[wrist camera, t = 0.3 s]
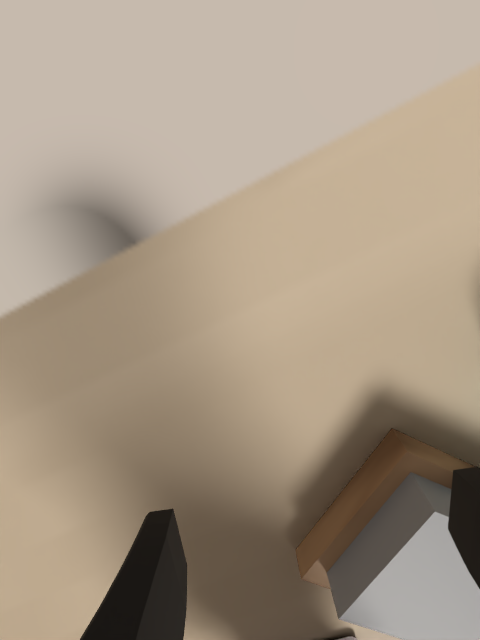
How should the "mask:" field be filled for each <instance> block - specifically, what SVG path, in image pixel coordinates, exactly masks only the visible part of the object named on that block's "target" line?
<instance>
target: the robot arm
mask: <svg viewBox="0 0 480 640" xmlns="http://www.w3.org/2000/svg"><path fill="white" fill-rule="evenodd" d="M448 530H449V532H450V535H451V537H452V539H453V541H454V543H455V545H456V547H457V549H458V551H459V553H460V555H461V557H462V559H463V561H464V563H465V565H466V567H467V569H468V571H469V573H470V574H471V576H472V578H473V579H474V581H475V583H476V584H477V586H478V587H479V589H480V468H478V467H472V468H464V469H457V470H453V478H452V488H451V499H450V510H449V520H448ZM186 602H187V563H186V559H185V555H184V551H183V547H182V543H181V539H180V535H179V530H178V526H177V522H176V518H175V514H174V510H173V509H168V510H161V511H154V512H149V513H148V514H147V516H146V517H145V519H144V522H143V524H142V526H141V528H140V530H139V532H138V535H137V537H136V539H135V541H134V543H133V545H132V547H131V549H130V551H129V553H128V555H127V557H126V559H125V561H124V563H123V565H122V567H121V569H120V570H119V572H118V574H117V576H116V578H115V580H114V581H113V583H112V585H111V587H110V589H109V591H108V593H107V594H106V596H105V598H104V600H103V602H102V603H101V605H100V607H99V609H98V610H97V612H96V614H95V615H94V617H93V619H92V620H91V622H90V624H89V625H88V627H87V629H86V630H85V632H84V634H83V635H82V637H81V639H80V640H183V637H184V628H185V618H186ZM336 640H357V639H356V638H355V637H353V636H349V637H345V638H341V639H336Z"/></svg>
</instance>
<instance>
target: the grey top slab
mask: <svg viewBox="0 0 480 640" xmlns="http://www.w3.org/2000/svg"><path fill="white" fill-rule="evenodd" d="M450 499H451V489H450V488H447V487H445V486H443V485H440V484H438V483H436V482H433V481H431V480H429V479H426V478H424V477H421V476H419V475H417V474H414V473H412V472H410V473H409V475H408V476H407V477H406V478H405V479H404V481H403V482H402V483H401V484H400V485H399V487H398V488H397V489H396V490H395V491H394V493H393V494H392V495H391V496H390V497H389V499H388V500H387V501H386V502H385V503H384V505H383V506H382V507H381V508H380V509H379V511H378V512H377V513H376V514H375V515H374V517H373V518H372V519H371V520H370V521H369V523H368V524H367V525H366V526H365V527H364V529H363V530H362V531H361V532H360V533H359V535H358V536H357V537H356V538H355V539H354V541H353V542H352V543H351V544H350V545H349V547H348V548H347V549H346V550H345V551H344V553H343V554H342V555H341V556H340V557H339V559H338V560H337V561H336V562H335V563H334V565H333V566H332V567H331V568H330V569H329V571H328V572H327V576H328V580H329V584H330V588H331V592H332V595H333V599H334V603H335V607H336V611H337V615H338V618H339V620H343V621H346V622H349V623H352V624H355V625H358V626H362V627H365V628H368V629H371V630H374V631H377V632H381V633H384V634H387V635H390V636H393V637H396V638H400V639H403V640H479V639H480V589H479V587H478V586H477V584H476V583H475V581H474V579H473V578H472V576H471V574H470V573H469V571H468V569H467V567H466V565H465V563H464V561H463V559H462V557H461V555H460V553H459V551H458V549H457V547H456V545H455V543H454V541H453V539H452V537H451V535H450V532H449V530H448V520H449V510H450Z"/></svg>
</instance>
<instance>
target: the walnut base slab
mask: <svg viewBox="0 0 480 640" xmlns="http://www.w3.org/2000/svg"><path fill="white" fill-rule="evenodd" d="M472 467H475V466H473V465H470V464H468V463H466V462H464V461H462V460H460V459H457V458H455V457H453V456H451V455H449V454H447V453H444V452H442V451H440V450H438V449H436V448H434V447H431V446H429V445H427V444H425V443H423V442H421V441H418V440H416V439H414V438H412V437H410V436H408V435H405V434H403V433H401V432H399V431H397V430H395V429H391V430H390V431H389V433H388V434H387V435H386V436H385V438H384V439H383V440H382V442H381V443H380V444H379V445H378V447H377V448H376V449H375V450H374V452H373V453H372V454H371V455H370V457H369V458H368V459H367V460H366V462H365V463H364V464H363V466H362V467H361V468H360V469H359V471H358V472H357V473H356V474H355V476H354V477H353V478H352V479H351V481H350V482H349V483H348V484H347V486H346V487H345V488H344V489H343V491H342V492H341V493H340V495H339V496H338V497H337V498H336V500H335V501H334V502H333V503H332V505H331V506H330V507H329V508H328V510H327V511H326V512H325V513H324V515H323V516H322V517H321V519H320V520H319V521H318V522H317V524H316V525H315V526H314V527H313V529H312V530H311V531H310V532H309V534H308V535H307V536H306V537H305V539H304V540H303V541H302V542H301V544H300V545H299V546H298V548H297V549H296V555H297V560H298V565H299V570H300V575H301V579H302V580H305V581H308V582H311V583H314V584H317V585H320V586H323V587H326V588H329V589H331V588H330V584H329V580H328V576H327V572H328V571H329V569H330V568H331V567H332V566H333V565H334V563H335V562H336V561H337V560H338V559H339V557H340V556H341V555H342V554H343V553H344V551H345V550H346V549H347V548H348V547H349V545H350V544H351V543H352V542H353V541H354V539H355V538H356V537H357V536H358V535H359V533H360V532H361V531H362V530H363V529H364V527H365V526H366V525H367V524H368V523H369V521H370V520H371V519H372V518H373V517H374V515H375V514H376V513H377V512H378V511H379V509H380V508H381V507H382V506H383V505H384V503H385V502H386V501H387V500H388V499H389V497H390V496H391V495H392V494H393V493H394V491H395V490H396V489H397V488H398V487H399V485H400V484H401V483H402V482H403V481H404V479H405V478H406V477H407V476H408V475H409V473H410V472H412V473H414V474H417V475H419V476H421V477H424V478H426V479H429V480H431V481H433V482H436V483H438V484H440V485H443V486H445V487H447V488H450V489H451V488H452V478H453V470H457V469H464V468H472Z"/></svg>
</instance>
